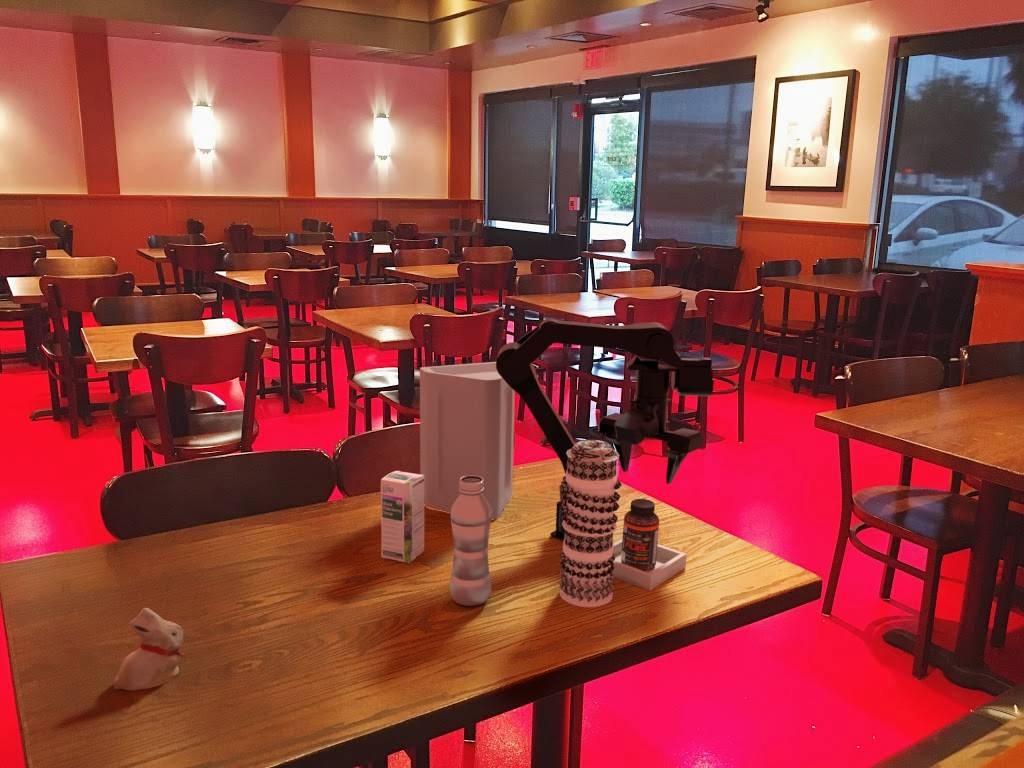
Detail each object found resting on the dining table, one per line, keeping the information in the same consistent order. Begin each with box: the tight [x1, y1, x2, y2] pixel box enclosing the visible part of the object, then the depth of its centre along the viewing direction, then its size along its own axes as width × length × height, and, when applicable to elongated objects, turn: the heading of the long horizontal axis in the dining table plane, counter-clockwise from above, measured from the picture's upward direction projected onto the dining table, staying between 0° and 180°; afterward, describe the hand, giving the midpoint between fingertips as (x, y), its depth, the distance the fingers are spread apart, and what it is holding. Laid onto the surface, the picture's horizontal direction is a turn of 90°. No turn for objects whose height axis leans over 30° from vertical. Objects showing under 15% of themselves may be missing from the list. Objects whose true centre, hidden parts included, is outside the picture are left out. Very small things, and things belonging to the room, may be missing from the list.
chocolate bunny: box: [113, 607, 184, 692], centre depth 105 cm, size 6×8×10 cm
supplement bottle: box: [621, 498, 660, 571], centre depth 139 cm, size 6×6×11 cm
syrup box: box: [380, 470, 425, 564], centre depth 141 cm, size 6×6×14 cm
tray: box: [612, 537, 687, 591], centre depth 140 cm, size 12×12×2 cm
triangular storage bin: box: [419, 361, 516, 521], centre depth 162 cm, size 19×15×28 cm
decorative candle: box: [559, 439, 623, 608], centre depth 128 cm, size 9×9×25 cm
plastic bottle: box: [449, 475, 492, 607], centre depth 125 cm, size 6×7×20 cm
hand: (646, 477), depth 149 cm, fingers open, 9 cm apart
